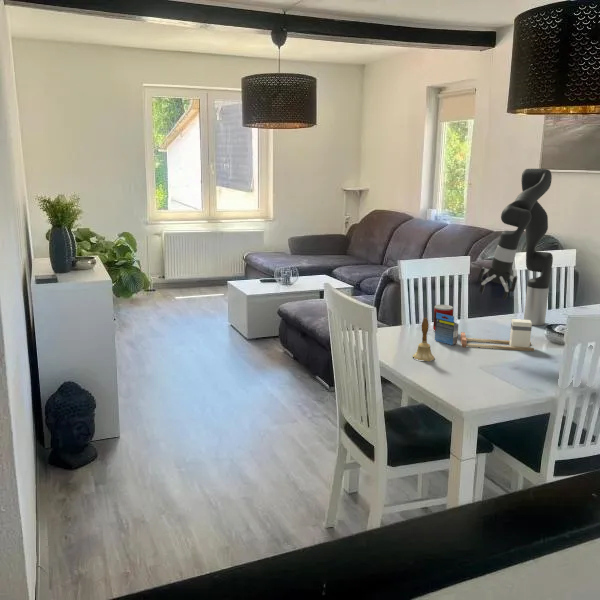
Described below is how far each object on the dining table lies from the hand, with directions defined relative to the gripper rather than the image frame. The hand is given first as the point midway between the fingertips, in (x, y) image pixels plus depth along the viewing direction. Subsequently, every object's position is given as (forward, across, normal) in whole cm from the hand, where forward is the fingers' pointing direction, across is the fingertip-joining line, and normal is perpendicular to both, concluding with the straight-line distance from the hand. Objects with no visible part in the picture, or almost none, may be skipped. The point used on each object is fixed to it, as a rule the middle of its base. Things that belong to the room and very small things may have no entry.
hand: (492, 296), depth 237 cm
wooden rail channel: (+20, -8, -3) cm, 22 cm away
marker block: (+19, -15, -5) cm, 25 cm away
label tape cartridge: (+24, +12, +2) cm, 27 cm away
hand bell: (+23, +16, +26) cm, 38 cm away
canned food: (+26, +17, -13) cm, 34 cm away
